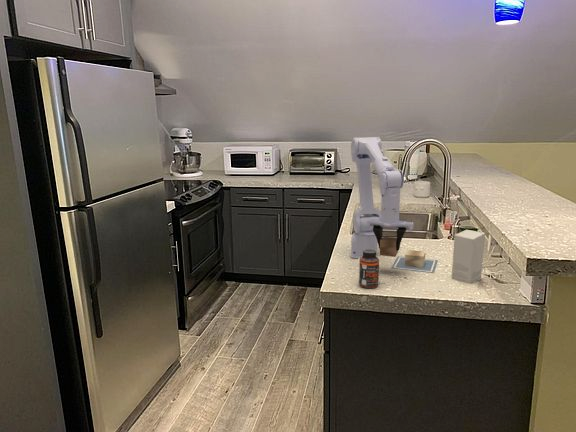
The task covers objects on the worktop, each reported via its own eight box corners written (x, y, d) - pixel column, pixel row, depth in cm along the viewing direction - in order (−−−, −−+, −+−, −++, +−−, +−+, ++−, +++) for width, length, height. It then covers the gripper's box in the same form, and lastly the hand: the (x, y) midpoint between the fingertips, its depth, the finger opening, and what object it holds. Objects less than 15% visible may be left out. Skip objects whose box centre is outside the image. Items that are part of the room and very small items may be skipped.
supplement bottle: (365, 290, 136) (366, 254, 133) (355, 283, 141) (355, 249, 139) (382, 287, 138) (383, 251, 136) (371, 280, 143) (372, 246, 141)
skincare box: (462, 274, 146) (466, 228, 143) (483, 280, 142) (486, 232, 138) (450, 281, 141) (453, 234, 137) (470, 287, 136) (474, 238, 133)
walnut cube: (379, 255, 145) (380, 240, 144) (382, 250, 149) (383, 236, 148) (395, 256, 143) (395, 241, 142) (397, 252, 148) (398, 237, 146)
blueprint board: (390, 271, 152) (390, 268, 151) (397, 258, 164) (397, 255, 164) (433, 276, 146) (434, 272, 146) (437, 262, 159) (437, 259, 158)
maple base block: (404, 265, 153) (405, 254, 152) (407, 260, 159) (407, 249, 158) (422, 267, 151) (423, 256, 150) (424, 262, 156) (425, 251, 155)
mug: (407, 197, 280) (407, 182, 278) (413, 194, 288) (414, 180, 286) (425, 198, 273) (426, 184, 271) (431, 196, 281) (432, 181, 279)
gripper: (364, 209, 142) (364, 250, 145) (411, 212, 136) (410, 254, 140) (369, 204, 148) (369, 244, 151) (414, 207, 143) (413, 248, 146)
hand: (389, 248), depth 146 cm, fingers closed on walnut cube, 5 cm apart
